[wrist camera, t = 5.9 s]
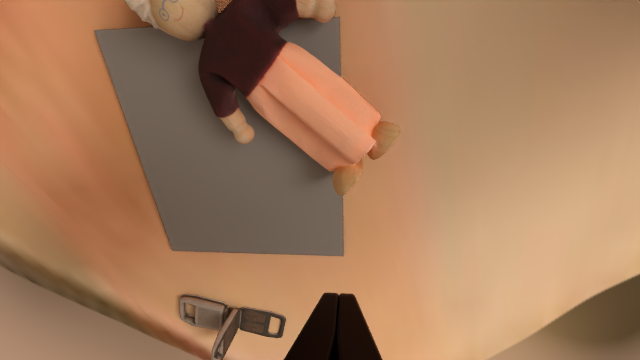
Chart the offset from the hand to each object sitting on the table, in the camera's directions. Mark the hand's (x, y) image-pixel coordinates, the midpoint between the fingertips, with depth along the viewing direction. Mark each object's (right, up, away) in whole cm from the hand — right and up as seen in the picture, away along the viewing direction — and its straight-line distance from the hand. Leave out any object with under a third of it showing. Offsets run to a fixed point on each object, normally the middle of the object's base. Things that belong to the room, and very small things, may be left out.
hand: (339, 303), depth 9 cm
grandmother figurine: (+2, +5, +7) cm, 9 cm away
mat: (-5, +5, +9) cm, 12 cm away
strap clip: (-8, -7, +17) cm, 20 cm away
